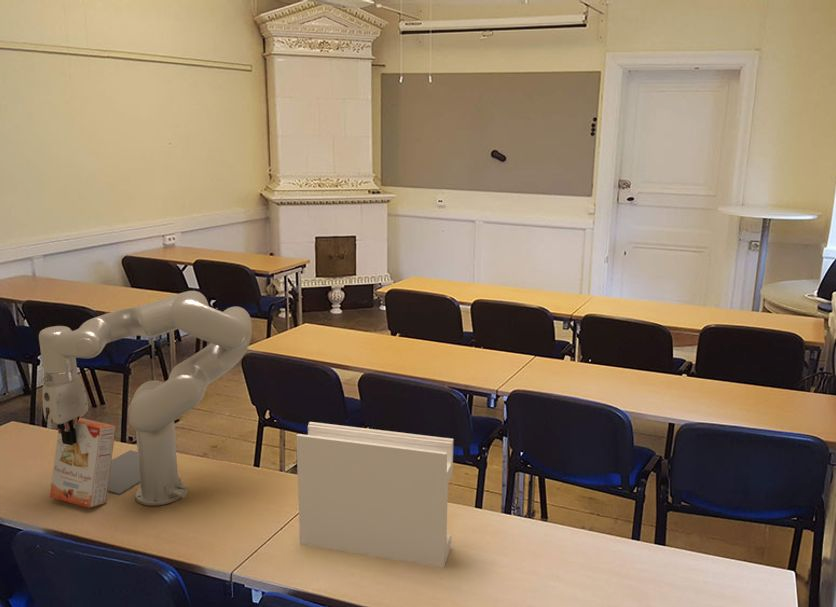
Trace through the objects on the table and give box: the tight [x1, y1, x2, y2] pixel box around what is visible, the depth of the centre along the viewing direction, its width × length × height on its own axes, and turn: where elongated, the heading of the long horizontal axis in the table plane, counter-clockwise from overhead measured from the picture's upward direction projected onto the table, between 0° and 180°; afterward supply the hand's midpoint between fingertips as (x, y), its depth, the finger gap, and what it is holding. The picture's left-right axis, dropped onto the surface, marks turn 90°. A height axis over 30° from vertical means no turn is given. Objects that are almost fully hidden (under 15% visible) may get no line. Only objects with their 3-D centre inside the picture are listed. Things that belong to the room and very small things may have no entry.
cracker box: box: [49, 417, 117, 509], centre depth 188 cm, size 14×6×21 cm, turn 68°
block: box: [295, 421, 454, 568], centre depth 167 cm, size 35×8×28 cm, turn 75°
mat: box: [107, 449, 141, 497], centre depth 205 cm, size 17×21×1 cm
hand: (69, 443), depth 185 cm, fingers closed
